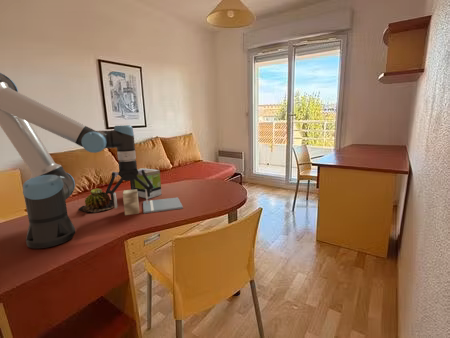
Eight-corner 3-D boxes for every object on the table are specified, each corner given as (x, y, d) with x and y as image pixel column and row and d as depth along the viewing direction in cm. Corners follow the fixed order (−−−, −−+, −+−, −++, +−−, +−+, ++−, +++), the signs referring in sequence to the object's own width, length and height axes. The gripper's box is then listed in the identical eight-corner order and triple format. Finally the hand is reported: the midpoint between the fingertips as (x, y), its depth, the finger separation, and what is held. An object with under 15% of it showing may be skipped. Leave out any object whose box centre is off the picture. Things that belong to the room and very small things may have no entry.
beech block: (125, 215, 109) (122, 194, 107) (125, 210, 115) (123, 190, 113) (139, 213, 111) (137, 192, 109) (139, 209, 117) (137, 189, 115)
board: (143, 213, 111) (143, 211, 111) (143, 202, 126) (143, 201, 125) (182, 208, 117) (182, 206, 116) (178, 198, 131) (177, 197, 131)
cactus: (70, 213, 113) (67, 193, 111) (91, 202, 129) (89, 184, 127) (104, 214, 111) (102, 194, 110) (122, 202, 127) (120, 184, 125)
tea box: (162, 194, 139) (160, 169, 137) (148, 199, 131) (146, 172, 128) (144, 191, 147) (142, 167, 145) (130, 195, 139) (128, 170, 136)
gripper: (94, 163, 101) (101, 211, 105) (156, 159, 109) (160, 204, 113) (97, 161, 108) (103, 206, 112) (155, 157, 116) (159, 199, 120)
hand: (132, 205), depth 112 cm, fingers open, 13 cm apart
